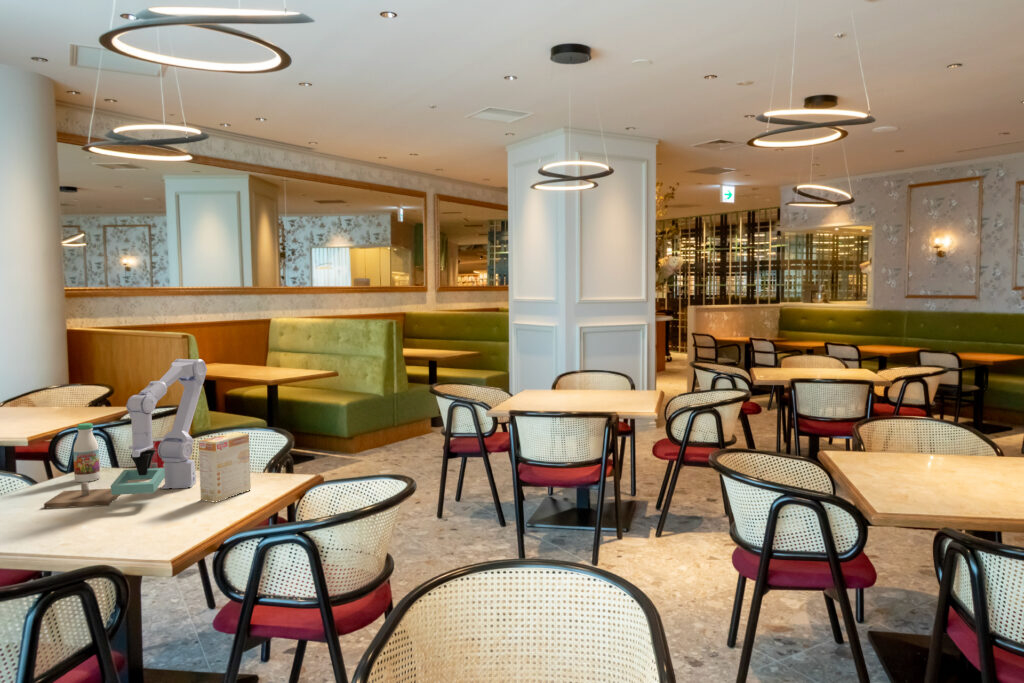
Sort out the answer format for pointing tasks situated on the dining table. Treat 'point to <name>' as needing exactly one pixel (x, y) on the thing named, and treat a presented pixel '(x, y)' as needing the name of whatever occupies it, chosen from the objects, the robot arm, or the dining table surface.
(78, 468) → the milk bottle
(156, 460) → the soda can
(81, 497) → the board
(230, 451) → the coffeecake box
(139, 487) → the teal square frame
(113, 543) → the dining table surface
